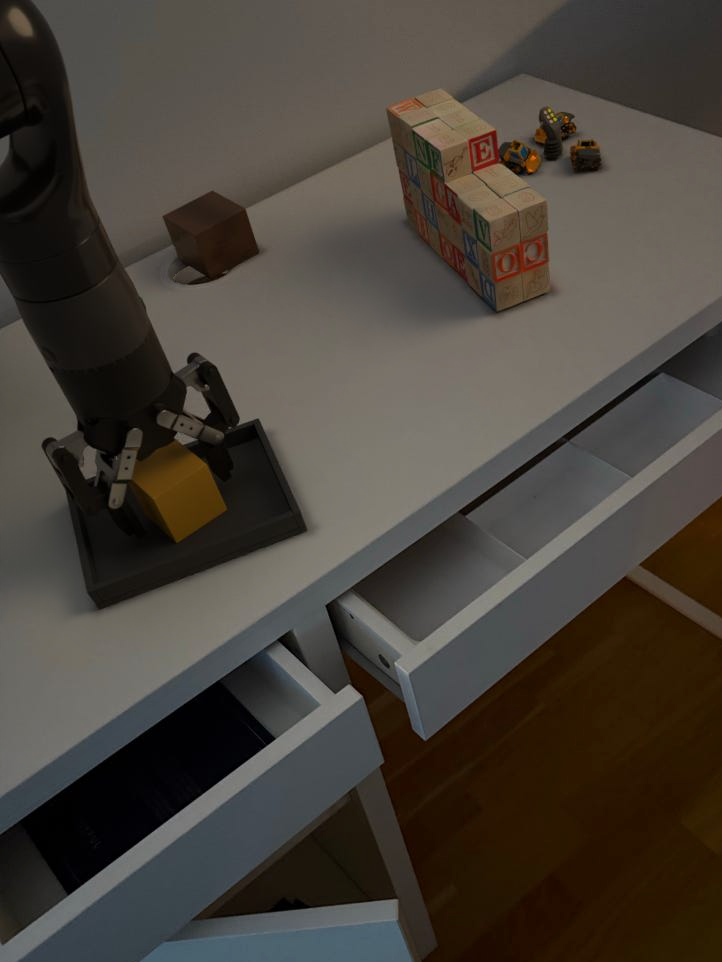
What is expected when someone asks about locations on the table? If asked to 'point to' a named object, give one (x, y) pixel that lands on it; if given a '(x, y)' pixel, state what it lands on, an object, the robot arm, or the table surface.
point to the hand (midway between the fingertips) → (180, 503)
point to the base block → (211, 234)
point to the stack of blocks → (470, 199)
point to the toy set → (551, 145)
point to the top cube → (176, 490)
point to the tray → (239, 530)
